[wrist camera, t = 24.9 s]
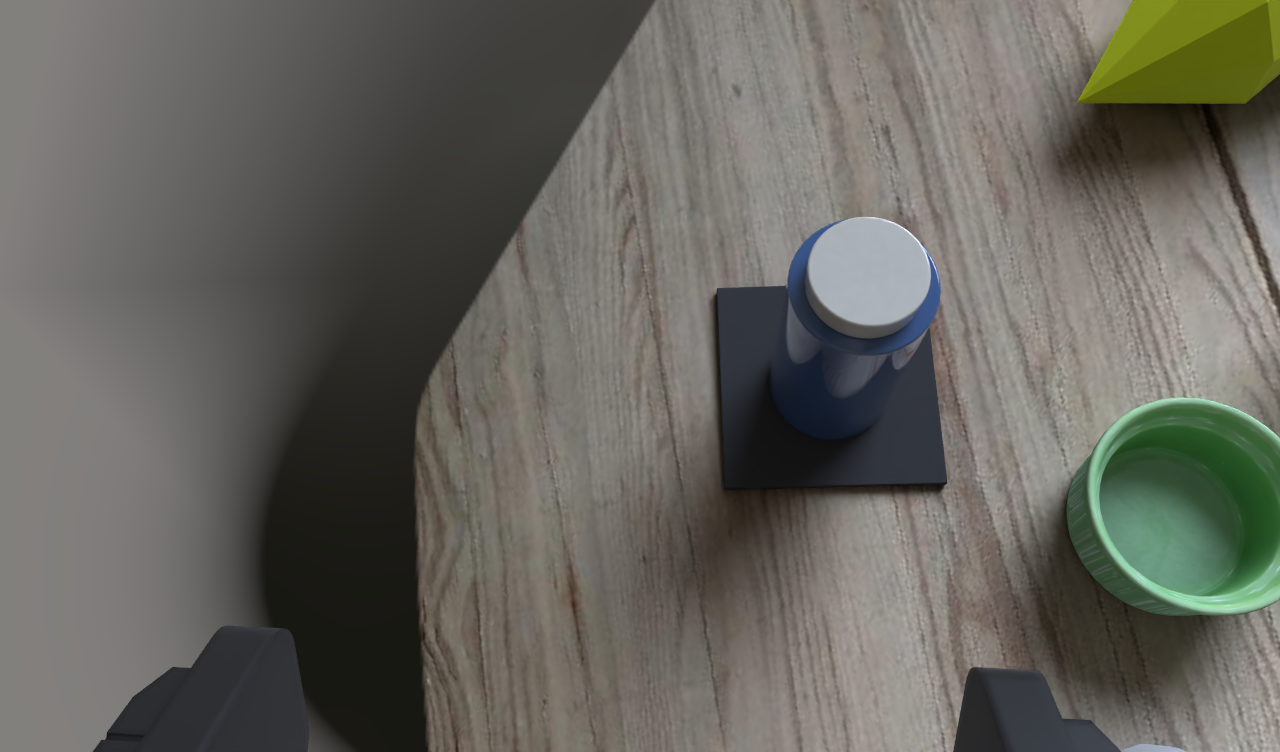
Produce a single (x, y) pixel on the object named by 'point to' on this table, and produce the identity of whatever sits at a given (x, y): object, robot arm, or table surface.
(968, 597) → the table surface
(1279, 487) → the ramekin
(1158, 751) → the salt shaker
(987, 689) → the robot arm
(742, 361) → the coaster
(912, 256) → the blue cylinder
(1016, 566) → the table surface
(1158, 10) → the plumb bob
